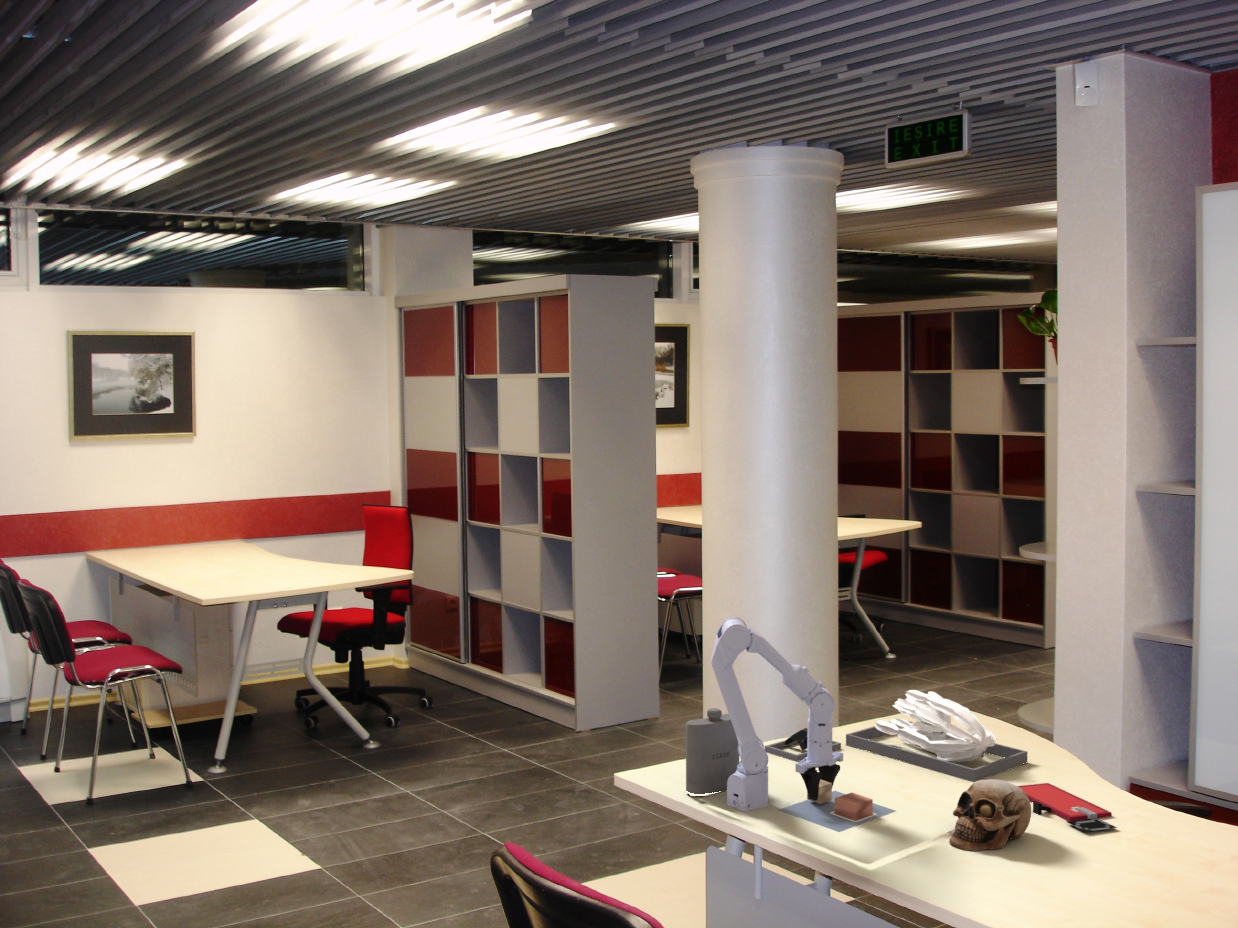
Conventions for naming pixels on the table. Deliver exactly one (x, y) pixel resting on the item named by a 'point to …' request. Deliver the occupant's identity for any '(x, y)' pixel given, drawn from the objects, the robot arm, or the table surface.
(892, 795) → the table surface
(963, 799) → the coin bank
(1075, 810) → the red board with handle
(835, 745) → the frame
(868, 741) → the grey tray
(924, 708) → the white sculpture
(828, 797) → the maple cube
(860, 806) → the base block
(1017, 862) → the table surface
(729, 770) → the flask
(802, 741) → the power plug
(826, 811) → the board
